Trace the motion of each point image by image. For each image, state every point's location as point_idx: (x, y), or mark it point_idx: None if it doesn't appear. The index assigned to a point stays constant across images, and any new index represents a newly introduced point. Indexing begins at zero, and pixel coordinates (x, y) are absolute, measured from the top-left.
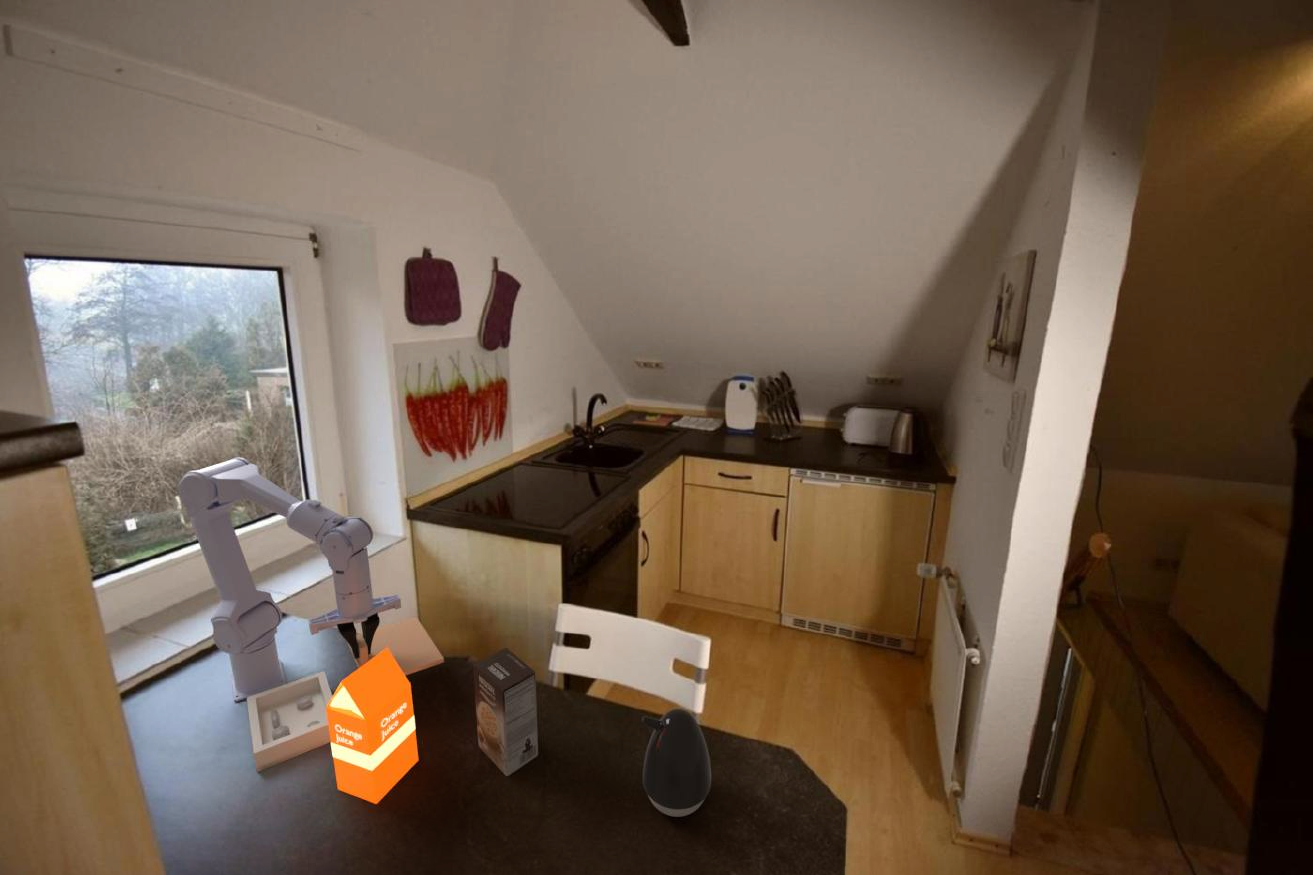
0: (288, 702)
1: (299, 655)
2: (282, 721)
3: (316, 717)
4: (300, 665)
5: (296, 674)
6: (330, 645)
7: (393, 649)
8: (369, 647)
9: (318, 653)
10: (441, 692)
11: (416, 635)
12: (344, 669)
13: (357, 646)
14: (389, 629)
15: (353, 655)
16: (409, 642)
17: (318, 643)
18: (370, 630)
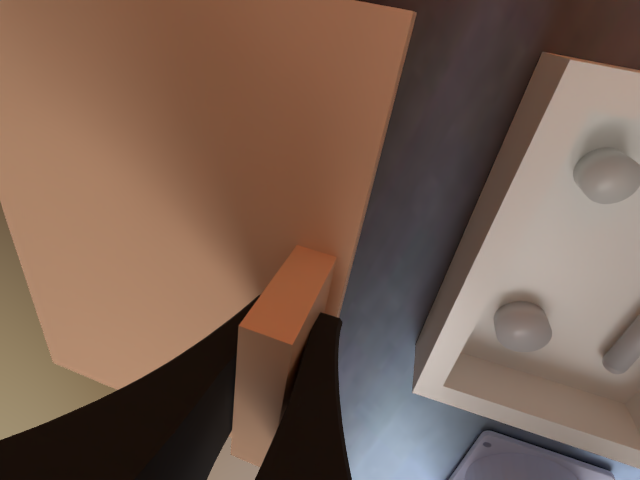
0: (540, 368)
1: (396, 476)
2: (624, 308)
3: (539, 235)
4: (413, 452)
5: (439, 436)
6: None
7: (159, 251)
8: (238, 322)
9: (361, 451)
10: None
11: (56, 263)
12: (343, 364)
13: (297, 378)
14: None
15: None
16: (86, 241)
17: None
18: (108, 443)
